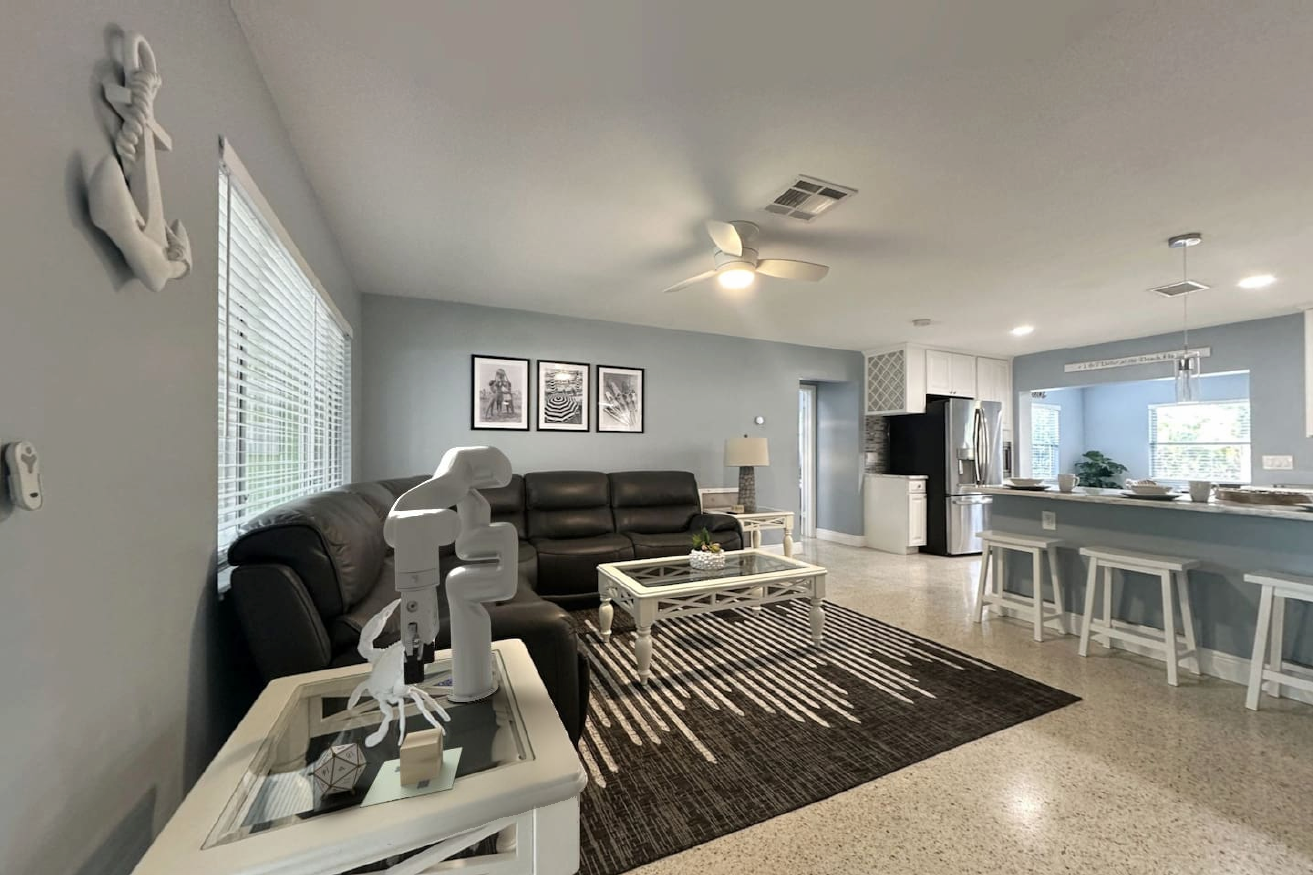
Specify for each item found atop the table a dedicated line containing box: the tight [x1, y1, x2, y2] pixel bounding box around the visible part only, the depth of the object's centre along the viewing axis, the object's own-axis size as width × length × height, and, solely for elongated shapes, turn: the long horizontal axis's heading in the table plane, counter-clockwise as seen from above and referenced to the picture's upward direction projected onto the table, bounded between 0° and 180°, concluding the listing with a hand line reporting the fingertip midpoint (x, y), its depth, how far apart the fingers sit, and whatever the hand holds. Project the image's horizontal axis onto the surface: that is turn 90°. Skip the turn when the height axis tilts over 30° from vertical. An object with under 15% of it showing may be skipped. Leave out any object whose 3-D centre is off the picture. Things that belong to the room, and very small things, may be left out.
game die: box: [306, 737, 373, 801], centre depth 86 cm, size 9×8×10 cm
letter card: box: [359, 747, 463, 808], centre depth 90 cm, size 14×14×1 cm
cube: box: [399, 727, 444, 785], centre depth 90 cm, size 6×6×6 cm
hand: (420, 672), depth 92 cm, fingers open, 9 cm apart
